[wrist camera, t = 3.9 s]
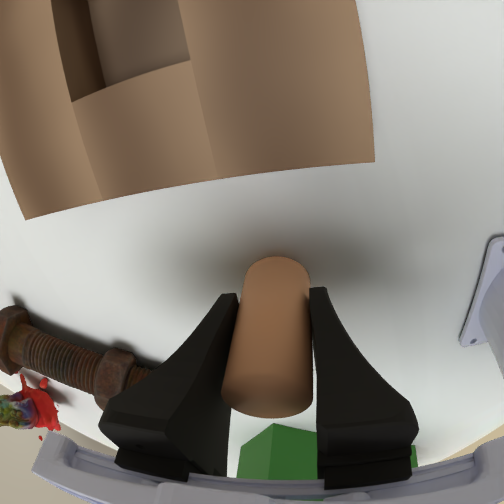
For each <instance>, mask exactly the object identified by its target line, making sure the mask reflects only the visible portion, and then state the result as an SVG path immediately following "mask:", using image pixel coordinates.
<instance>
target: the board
mask: <svg viewBox="0 0 504 504" xmlns="http://www.w3.org/2000/svg"><path fill="white" fill-rule="evenodd" d="M0 156H1V159H2V162H3V165H4V168H5V171H6V173H7V176H8V179H9V182H10V184H11V187H12V189H13V192H14V194H15V197H16V199H17V202H18V204H19V206H20V209H21V211H22V213H23V216H24V218H25V220H28V219H32V218H35V217H39V216H43V215H47V214H51V213H54V212H58V211H62V210H66V209H70V208H74V207H78V206H83V205H87V204H91V203H96V202H100V201H104V200H109V199H114V198H118V197H123V196H128V195H133V194H137V193H142V192H148V191H153V190H158V189H163V188H169V187H174V186H180V185H186V184H192V183H198V182H204V181H210V180H216V179H223V178H230V177H236V176H244V175H251V174H258V173H266V172H274V171H283V170H291V169H301V168H310V167H320V166H331V165H343V164H356V163H370V162H375V154H374V137H373V123H372V111H371V100H370V91H369V82H368V74H367V66H366V59H365V52H364V46H363V39H362V34H361V28H360V22H359V17H358V12H357V7H356V2H355V0H0Z"/></svg>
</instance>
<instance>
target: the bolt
mask: <svg viewBox="0 0 504 504" xmlns="http://www.w3.org/2000/svg"><path fill="white" fill-rule="evenodd" d="M22 367H25V368H27V369H31V370H34V371H36V372H38V373H40V374H43V375H45V376H47V377H49V378H52V379H54V380H57V381H58V382H61V383H64V384H65V385H68V386H70V387H73V388H76V389H80V390H81V391H84V392H88V393H89V394H92V395H93V396H94V399H95V402H96V404H97V405H98V406H99V407H100V408H101V409H102V410H103V411H104V409H105V407H106V404H107V402H108V400H109V399H110V398H112V397H114V396H115V395H117V394H119V393H121V392H123V391H124V390H126V389H128V388H130V387H131V386H133V385H134V384H136V383H137V382H139V381H140V380H142V379H143V378H145V377H146V376H148V375H149V374H150V373H151V372H153V371H154V370H152V371H150V369H147V370H146V369H145V367H144V368H141V366H139V367H137V363H136V357H135V356H134V355H133V354H132V352H129V351H125V350H122V349H119V348H116V347H115V348H112V349H110V350H108V351H107V352H106V353H105V355H104V356H103V354H99V353H95V352H94V351H91V350H87V349H85V348H84V349H83V348H82V347H79V346H76V345H75V344H72V343H68V342H67V341H64V340H61V339H58V338H56V337H54V336H51V335H49V334H46V333H44V332H42V331H41V330H39V329H37V328H35V327H33V325H32V322H31V320H30V317H29V314H28V312H27V310H26V309H24V308H22V307H20V306H17V305H13V306H8V307H6V308H3V309H2V310H1V311H0V370H1V371H3V372H5V373H6V374H8V375H10V376H11V375H13V374H14V373H15V372H17V371H18V370H20V369H21V368H22Z"/></svg>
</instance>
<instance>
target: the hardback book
mask: <svg viewBox="0 0 504 504" xmlns="http://www.w3.org/2000/svg"><path fill="white" fill-rule="evenodd" d="M411 449H412V455H411V456H410V459H411V467H412V468H416V467H418V463H417V456H416V449H415V445H411ZM236 478H243V479H261V480H317V433H316V432H311V431H306V430H301V429H296V428H292V427H287V426H283V425H279V424H275V423H273V424H272V425H270V426H269V427H268V428H266V429H265V430H264V431H262V432H261V433H260V434H258V435H257V436H255V437H254V438H253V439H251V440H250V441H249V442H247V443H246V444H244V445H243V446H241V451H240V457H239V464H238V470H237V477H236ZM323 500H324V499H313V500H299V501H323Z"/></svg>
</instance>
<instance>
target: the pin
mask: <svg viewBox="0 0 504 504" xmlns="http://www.w3.org/2000/svg"><path fill="white" fill-rule="evenodd" d="M309 288H311V287H310V277H309V274H308V272H307V271H306V269H305V268H304V267H303V266H302V265H301V264H299V263H298V262H296V261H295V260H292V259H290V258H286V257H280V256H272V257H267V258H263V259H261V260H259V261H257V262H255V263H254V264H253V265H252V266H250V268H249V269H248V271H247V272H246V275H245V279H244V284H243V289H242V293H241V298H240V303H239V308H238V312H237V317H236V322H235V327H234V332H233V336H232V341H231V346H230V351H229V355H228V360H227V365H226V370H225V375H224V379H223V384H222V389H221V396H222V398H223V400H224V401H225V403H226V404H227V405H229V406H230V407H231V408H233V409H235V410H236V411H238V412H241V413H243V414H246V415H250V416H254V417H259V418H285V417H290V416H294V415H297V414H299V413H301V412H303V411H305V410H306V409H307V408H308V407H309V406H310V405H311V404H312V401H313V345H312V325H311V316H310V304H309Z"/></svg>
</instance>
